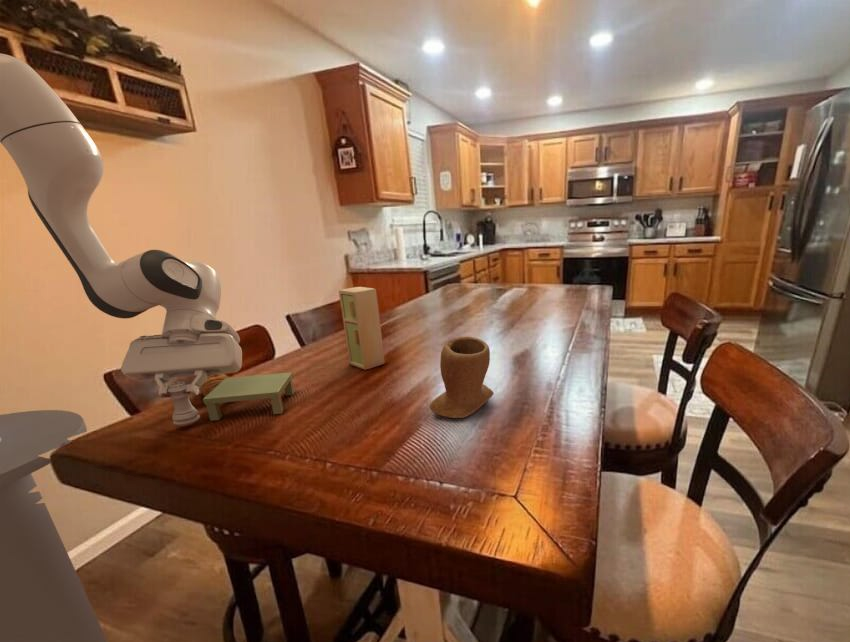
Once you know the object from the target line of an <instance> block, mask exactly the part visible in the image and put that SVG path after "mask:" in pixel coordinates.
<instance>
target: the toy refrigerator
mask: <svg viewBox="0 0 850 642" xmlns="http://www.w3.org/2000/svg"><path fill="white" fill-rule="evenodd" d="M338 296H339V301H340V303H339V304H340V308H341V315H342V322H343V329H344V335H345V343H346V349H347V350H346V351H347V356H348V363H349V365H351V366H353V367H356V368H359V369H361V370H364V371H366V370H369V369H372V368H375V367H379V366H381V365H385V363H386V360H385V353H384V352H385V351H384V344H383V337H382V327H381V321H380V320H381V319H380V311H379V303H378V302H379V301H378V295H377V289H376V288H373V287H365V286H354V287H348V288H342V289H339V290H338Z"/></svg>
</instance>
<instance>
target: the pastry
mask: <svg viewBox="0 0 850 642" xmlns="http://www.w3.org/2000/svg"><path fill="white" fill-rule="evenodd" d="M226 378H230V376H228V375H226V373H224V374H211V375H209V376H207V380H206V381H205V382H204V383H203V384H202V385H201V387H199V391H200V393H201V394H202V395H203V396H204V398H205V397H206V396H207V395H208V394H209V393H210V392H211V391H212V390H213V389H215V388H216V387H217V386H218V385H219V384H220V383H221V382H222V381H223V380H225V379H226Z"/></svg>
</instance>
